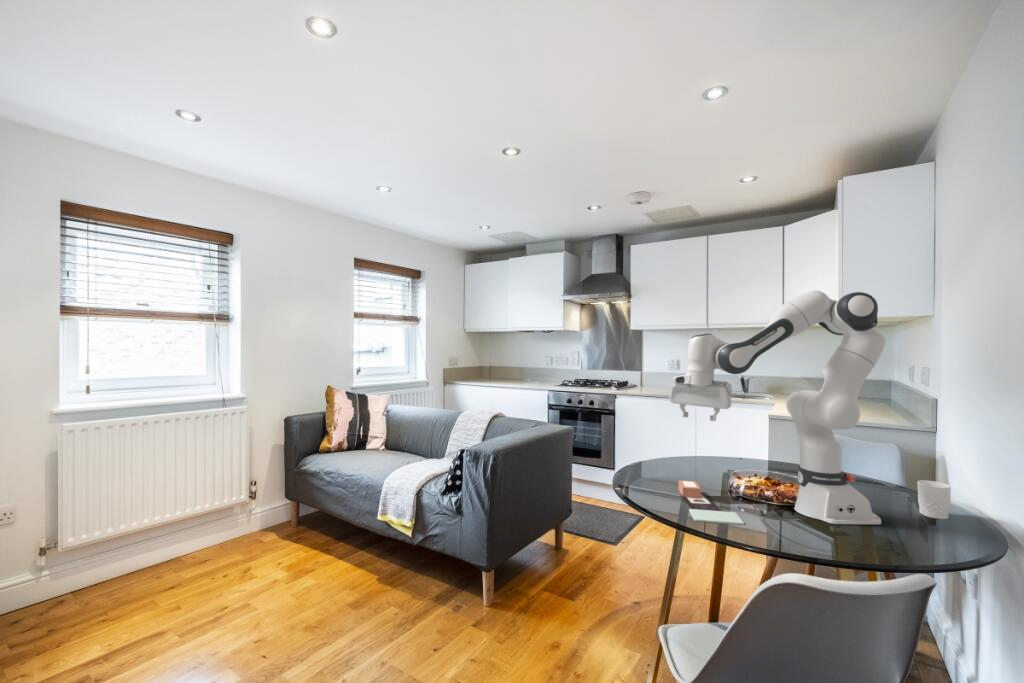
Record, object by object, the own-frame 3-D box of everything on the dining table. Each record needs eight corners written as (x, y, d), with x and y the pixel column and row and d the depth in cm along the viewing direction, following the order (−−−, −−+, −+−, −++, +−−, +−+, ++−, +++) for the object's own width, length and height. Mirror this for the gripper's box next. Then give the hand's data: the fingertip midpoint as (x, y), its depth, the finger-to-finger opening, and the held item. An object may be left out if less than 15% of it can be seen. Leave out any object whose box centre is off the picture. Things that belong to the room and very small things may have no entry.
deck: (678, 490, 168) (678, 479, 168) (695, 492, 167) (695, 481, 167) (682, 499, 159) (682, 487, 159) (700, 500, 158) (701, 488, 158)
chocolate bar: (695, 512, 144) (680, 494, 162) (695, 515, 144) (680, 496, 162) (724, 513, 143) (706, 494, 161) (724, 516, 143) (706, 497, 161)
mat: (735, 513, 145) (735, 512, 145) (744, 524, 136) (744, 523, 136) (689, 510, 148) (689, 508, 148) (694, 520, 139) (694, 519, 139)
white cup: (944, 513, 147) (944, 482, 147) (955, 521, 139) (955, 489, 140) (913, 509, 150) (913, 479, 150) (922, 517, 143) (922, 485, 143)
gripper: (734, 381, 155) (733, 421, 155) (675, 377, 169) (673, 414, 168) (729, 382, 150) (728, 424, 150) (668, 377, 164) (667, 416, 164)
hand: (698, 418), depth 160 cm, fingers open, 8 cm apart
